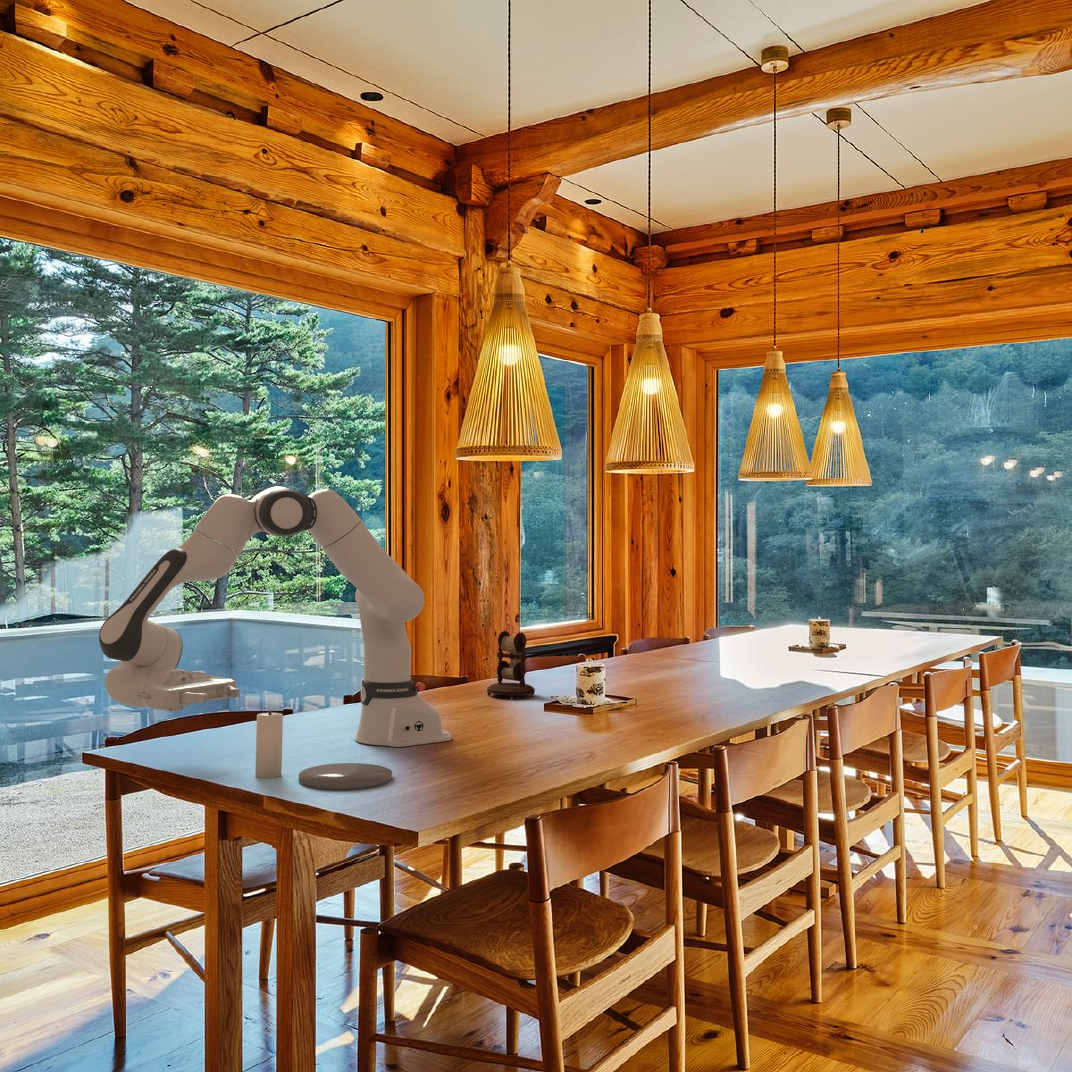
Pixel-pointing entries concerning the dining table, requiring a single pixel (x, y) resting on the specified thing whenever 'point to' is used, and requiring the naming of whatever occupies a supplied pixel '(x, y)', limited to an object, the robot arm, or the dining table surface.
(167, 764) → the dining table surface
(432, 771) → the dining table surface
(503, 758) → the dining table surface
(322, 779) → the plate
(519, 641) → the double spool stand
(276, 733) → the candle
